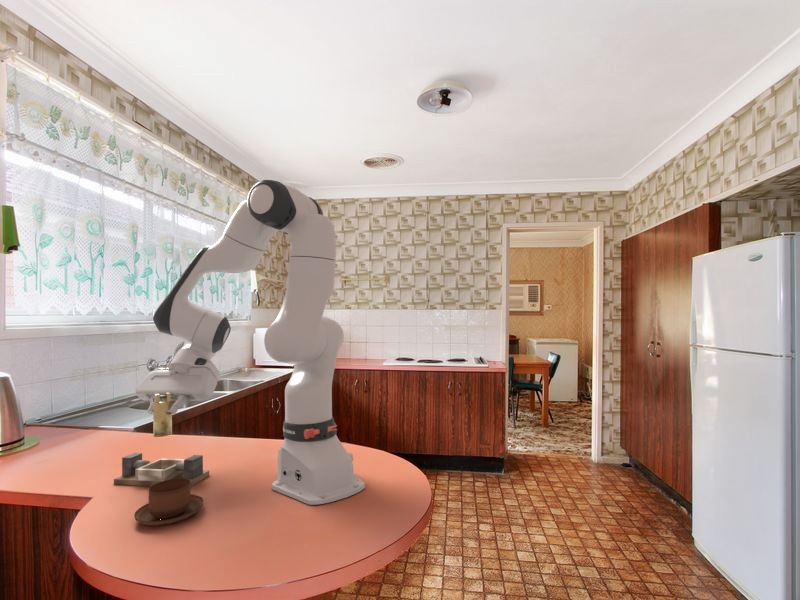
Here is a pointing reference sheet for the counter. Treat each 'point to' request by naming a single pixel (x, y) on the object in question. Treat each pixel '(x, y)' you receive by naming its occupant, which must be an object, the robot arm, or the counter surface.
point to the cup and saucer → (169, 503)
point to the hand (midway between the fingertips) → (160, 413)
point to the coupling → (162, 416)
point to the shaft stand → (160, 470)
